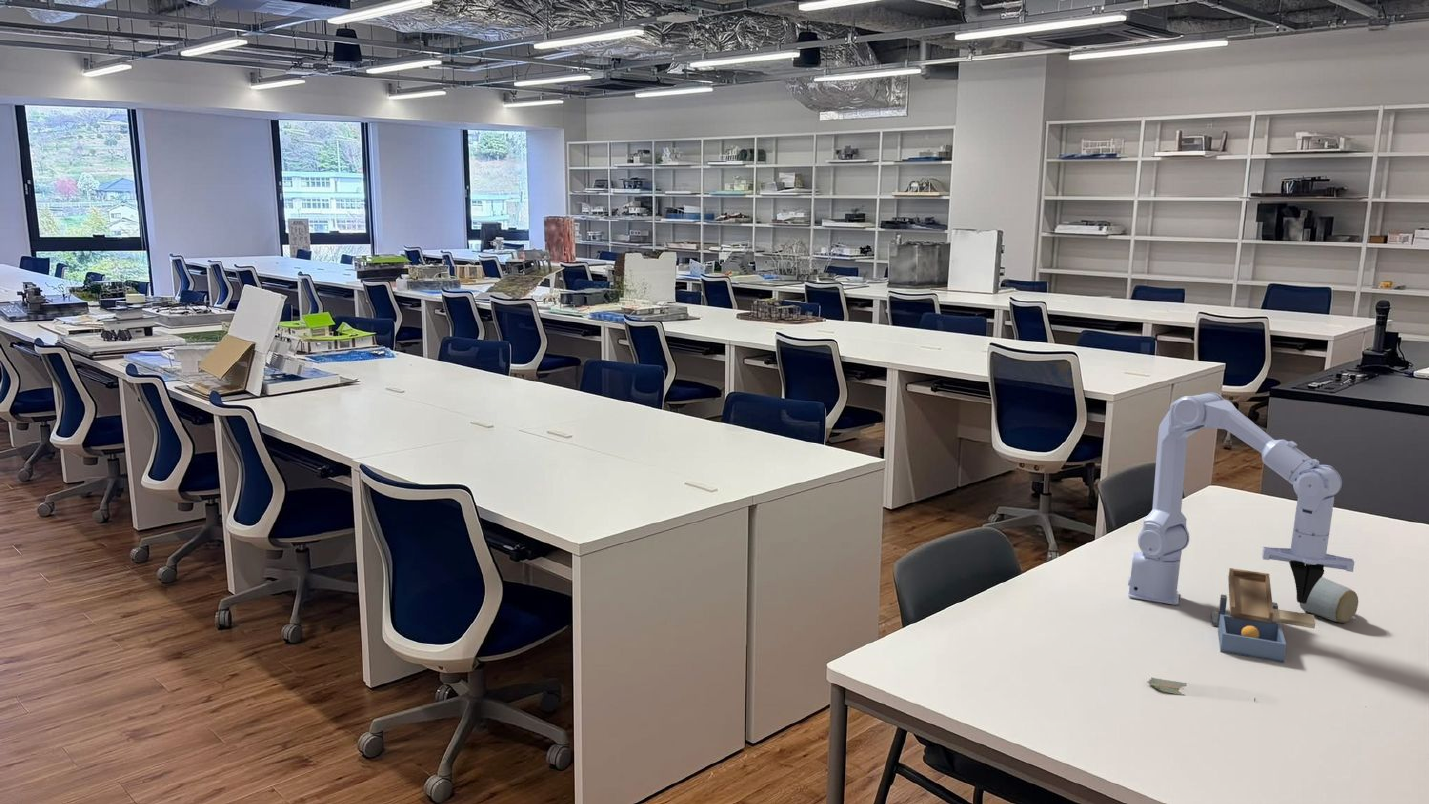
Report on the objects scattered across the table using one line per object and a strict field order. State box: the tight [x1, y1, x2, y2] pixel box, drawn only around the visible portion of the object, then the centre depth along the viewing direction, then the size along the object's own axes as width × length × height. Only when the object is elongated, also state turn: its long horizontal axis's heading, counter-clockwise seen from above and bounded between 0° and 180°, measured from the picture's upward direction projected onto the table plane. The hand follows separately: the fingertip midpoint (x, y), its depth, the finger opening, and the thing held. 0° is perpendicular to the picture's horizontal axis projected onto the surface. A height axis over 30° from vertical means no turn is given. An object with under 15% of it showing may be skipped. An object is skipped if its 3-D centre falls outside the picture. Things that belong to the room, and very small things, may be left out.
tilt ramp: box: [1227, 567, 1316, 629], centre depth 194 cm, size 14×14×5 cm
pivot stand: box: [1210, 593, 1281, 628], centre depth 196 cm, size 12×6×5 cm, turn 66°
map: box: [1146, 677, 1256, 702], centre depth 169 cm, size 5×20×1 cm, turn 79°
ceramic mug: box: [1299, 576, 1359, 624], centre depth 202 cm, size 11×8×8 cm
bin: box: [1217, 614, 1287, 663], centre depth 187 cm, size 10×10×4 cm
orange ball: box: [1241, 626, 1259, 639], centre depth 188 cm, size 3×3×3 cm
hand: (1301, 601), depth 188 cm, fingers closed
